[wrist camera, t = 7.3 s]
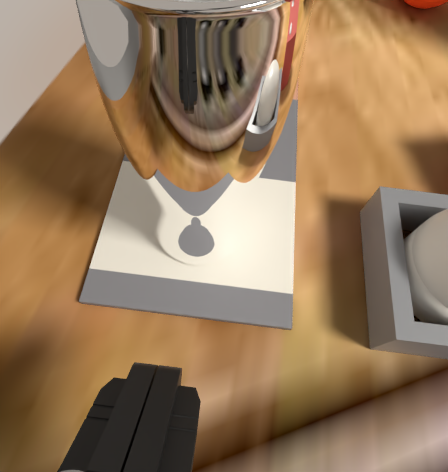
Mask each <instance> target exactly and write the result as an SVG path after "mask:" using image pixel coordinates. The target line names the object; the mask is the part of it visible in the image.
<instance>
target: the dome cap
mask: <svg viewBox="0 0 448 472" xmlns="http://www.w3.org/2000/svg"><path fill="white" fill-rule="evenodd" d="M403 241H404V248H405V256H406V263H407V270H408V278H409V285H410V293H411V300H412V307H413V314H414V315H415V316H416V317H417V318H418V319H420V320H421V321H423V322H424V323H431V324H439V325H447V326H448V209H446V210H443V211H441V212H439V213H437V214H435V215H433V216H432V217H430V218H429V219H428V220H426V221H425V222H424V223H422V224H421V225H420V226H419V227H418V228H417V229H415V230H414V231H413V232H412V233H411V234H410V235H408V236H407V237H406V238H405V239H404V240H403Z"/></svg>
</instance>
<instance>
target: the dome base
mask: <svg viewBox="0 0 448 472" xmlns="http://www.w3.org/2000/svg"><path fill="white" fill-rule="evenodd" d="M446 209H448V195H444V194H436V193H428V192H420V191H412V190H404V189H396V188H388V187H379V188H378V190H377V191H376V192H375V193H374V195H373V196H372V197H371V198H370V200H369V201H368V202H367V204H366V205H365V206H364V207H363V209H362V210H361V211H360V221H361V235H362V248H363V262H364V275H365V289H366V302H367V316H368V329H369V342H370V349H373V350H381V351H388V352H396V353H404V354H412V355H420V356H428V357H436V358H443V359H448V326H447V325H439V324H431V323H423V322H415V321H414V315H413V307H412V300H411V293H410V285H409V278H408V270H407V263H406V256H405V248H404V241H403V233H402V230H406V231H414V230H415V229H417V228H418V227H419V226H420V225H421V224H422V223H424V222H425V221H426V220H428V219H429V218H430V217H432V216H433V215H435V214H437V213H439V212H441V211H443V210H446Z"/></svg>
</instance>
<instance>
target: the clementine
mask: <svg viewBox="0 0 448 472" xmlns="http://www.w3.org/2000/svg"><path fill="white" fill-rule="evenodd" d="M404 1H405V2H406V3H407V4H409V5H411V6H413V7H416V8H422V9H426V8H432V7H436V6H440V5H442V4H444V3H446V2H447V1H448V0H404Z"/></svg>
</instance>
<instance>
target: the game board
mask: <svg viewBox="0 0 448 472" xmlns="http://www.w3.org/2000/svg"><path fill="white" fill-rule="evenodd" d="M297 109H298V81H297V85H296V89H295V93H294V97H293V100H292V103H291V106H290V109H289V112H288V115H287V118H286V121H285V124H284V127H283V130H282V132H281V135H280V137H279V139H278V141H277V143H276V145H275V148H274V150H273V152H272V154H271V156H270V158H269V160H268V162H267V164H266V165H265V167H264V169H263V171H262V173H261V175H260V176H259V178H258V180H257V182H256V183H255V185H254V187H253V189H252V191H251V193H250V195H249V197H248V200H247V205H248V213H249V227H248V232H247V235H246V238H245V240H244V241H243V243H242V245H241V246H240V247H239V249H238V250H237V251H236V252H235V253H234V254H232V255H231V256H230V257H228V258H226V259H225V260H223V261H220V262H218V263H214V264H210V265H191V264H186V263H183V262H180V261H178V260H176V259H174V258H172V257H171V256H170V255H168V254H167V253H166V252H165V251H164V250H163V249H162V248H161V247H160V245H159V244H158V242H157V241H156V239H155V236H154V233H153V228H152V215H153V207H154V206H153V201H152V199H151V196H150V195H149V193H148V191H147V189H146V188H145V186H144V184H143V183H142V181H141V180H140V178H139V176H138V175H137V173H136V171H135V170H134V168H133V166H132V165H131V163H130V161H129V160H128V158H127V156H126V154H125V155H124V159H123V162H122V165H121V168H120V171H119V175H118V178H117V181H116V184H115V187H114V191H113V194H112V197H111V200H110V203H109V207H108V210H107V213H106V216H105V219H104V223H103V226H102V229H101V232H100V235H99V239H98V242H97V245H96V248H95V251H94V255H93V258H92V261H91V264H90V267H89V271H88V274H87V277H86V280H85V283H84V287H83V290H82V293H81V296H80V299H79V302H80V303H82V304H89V305H97V306H105V307H113V308H121V309H129V310H137V311H145V312H152V313H160V314H168V315H176V316H184V317H192V318H200V319H208V320H215V321H223V322H231V323H239V324H247V325H255V326H263V327H271V328H278V329H286V330H291V329H292V310H293V270H294V230H295V189H296V149H297Z"/></svg>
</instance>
